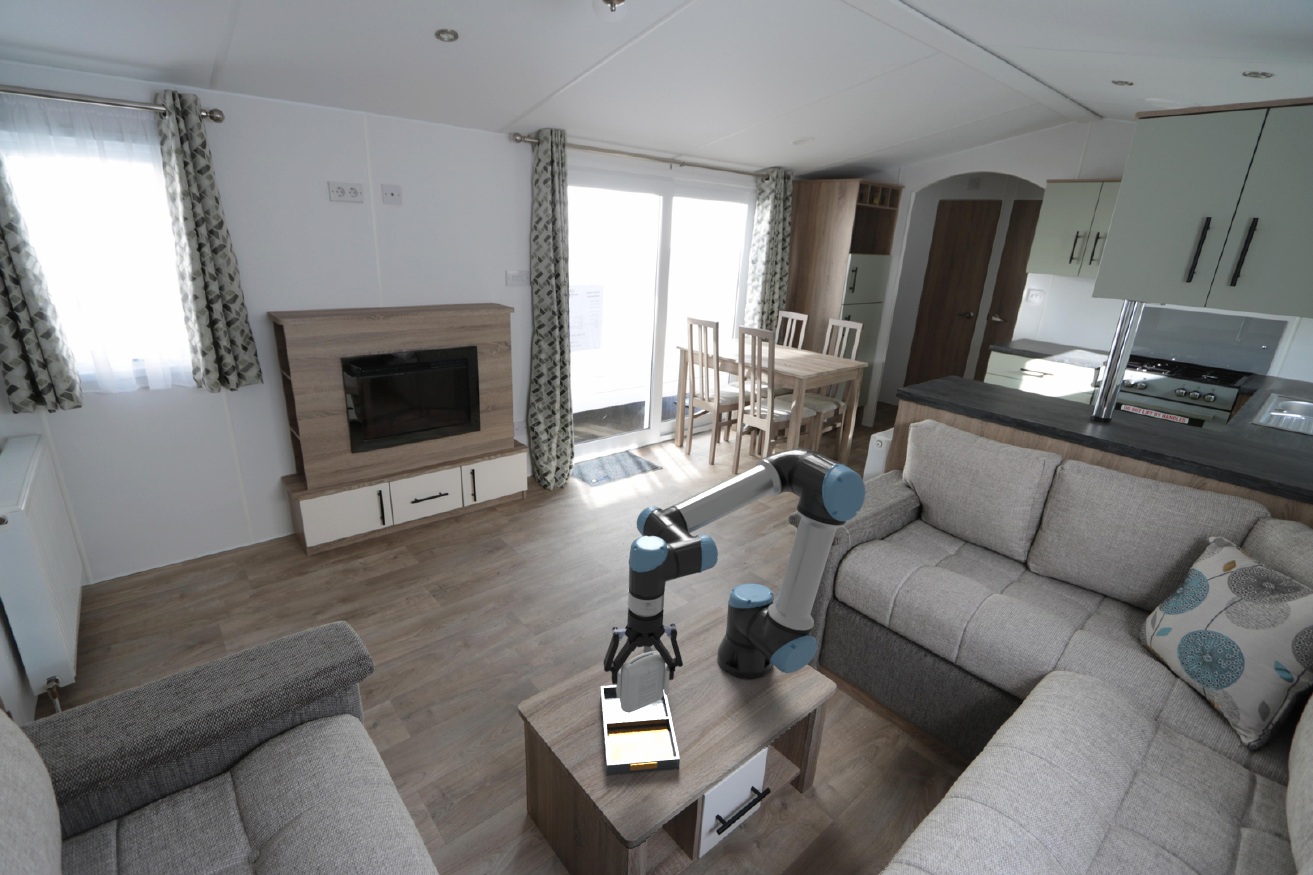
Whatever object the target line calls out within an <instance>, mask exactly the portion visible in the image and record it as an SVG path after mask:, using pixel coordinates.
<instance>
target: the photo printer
mask: <svg viewBox="0 0 1313 875" xmlns="http://www.w3.org/2000/svg"><path fill="white" fill-rule="evenodd" d="M664 673H665V661H664V660H663V658H662V657H661V655H660V653H659V652H658V651H651V652H646V653H644V652H643V653H641V654H639V655H636V656H634V657H632V658H630V659H629V660H626V661H625V663H624V664H623V665H622V667H621V698H620V703H621V709H622V710H623V711H624V712H628V713H630V712H634V711H636V710H638V709H641V708H643V707H645V706H647V705H650V704H652V703H654V702H656V701H658V700H660V699H661V698H662V697H663V688H664Z"/></svg>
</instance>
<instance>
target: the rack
mask: <svg viewBox="0 0 1313 875" xmlns="http://www.w3.org/2000/svg"><path fill="white" fill-rule="evenodd" d="M600 702H601V704H600V705H601V715H602V716H601V717H602V728H603V740H604V741H603V742H604V753H605V754H604V755H605V767H606V776H617V775H626V774H636V773H637V774H638V773H649V772H657V771H658V772H659V771H670V770H671V771H672V770H680V764H681V763H680V762H681V761H680V760H681V758H680V753H679V748H678V743H677V738H676V735H675V734H676V733H675V729H674V725H673V720H672V714H671V710H670V705H669V700H668V696H667V695H665V694H664V689H663V697H662V698H661V699H660V700H658V701H656V702H654V703H652V704H650V705H647V706H645V707H643V708H641V709H638V710H636V711H634V712H630V713H628V712H624V711H623V710H622V709H621V703H620V698H617V692H616V684H611V685H601V686H600Z"/></svg>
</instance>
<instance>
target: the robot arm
mask: <svg viewBox="0 0 1313 875" xmlns="http://www.w3.org/2000/svg"><path fill="white" fill-rule="evenodd" d="M783 493H792V494H794V495H796V496H797V497H798V498H799V500H798V502H797V507H796V512H797V513H798V515H799V516H800V520H799V524H798V526H797V530H796V534H795V537H794V539H793V544H792V547H791V551H790V555H789V558H788V561H787V565H786V568H785V571H784V575H783V578H782V582H781V585H780V587H779V588H780V589H779V592H778V596H777V600H776V602H774V601H775V596H774V591H772V589H770V588H769V587H768V586H765V585H763V584H759V583H752V582H751V583H750V582H749V583H742V584H739V585H737V586H735V587H734V588H732V589H731V590H730V593H729V600H728V601H727V604H728V606H727V617H726V626H725V628H726V629H725V635H724V636H723V639H722V640H721V641H720V644H719V645H718V649H717V657H716V658H717V663H718V665H719V667H720V668H721V669H722V670H723V671H724V672H725V673H726V674H728V675H730V676H732V677H734V678H737V679H741V680H747V681H748V680H751V681H752V680H757V679H762V678H763V677H765V676H766V675H768V673H770V671H771V669H772V666H774V667H775V668H776V669H777V670H779V671H780V672H781V673H784V674H792V673H796V672H798V671H800V670H802V669H803V668H804V667H806V666H807V665H809V663H810V662H811V660H813V658H814V657H815V655H816V653H817V651H818V642H817V639H816V637H814V635H812V632H813V628H814V625H815V622H814V618H813V617H812V615H811V612H812V609H813V606H814V602H815V600H816V596H817V594H818V590H819V587H820V584H821V581H822V577H823V574H824V571H825V568H826V563H827V560H828V558H829V555H830V551H831V548H832V544H833V542H834V539H835V534H836V532H837V529H840V528H841V527H843V526H845V525H846V522H848V521H850V520H852V519H853V518H855V517H856V516H857V514H858V513H857V512H860V511H861V509H862V507H863V505H864V502H865V499H866V498H865V497H866V486H865V482H864V480H863V478H862V476H861V475H860V474H859V473H858V472H856V471H855V470H852V469H851V468H850V467H849V466H847V465H846V464H844V463H841V462H838V461H836V460H834V459H832V458H830V457H828V456H825V455H823V454H821V453H820V452H818V451H815V450H814V449H810V448H793V449H787V450H783V451H779V452H776V453H773V454H770V455H768V456H766V457H763V458H761V459H759V460H758V461H757V462H756V464H755V466H754V467H752V468H749V469H747V470H745V471H743V472H741V473H739V474H737V475H735V476H732V477H731V478H728V479H726V480H724V481H722V482H719V483H717V484H715V485H713V486H711V487H709V488H707V489H705V490H703V491H700V492H698V493H696V494H694V495H692V496H691V497H688V498H686V499H683V500H682V501H679V502H678V503H675V504H672V505H671V506H668V507H667V508H665V509H662V508H660V507H658V506H654V505H653V506H648V507H646V508H644V509H643V510H642V511H641V512H640V513H639V515H638V516H637V518H636V528H637V530H638V533H639V534H640V535H641V536H640V537H637V538H636V539H634V540H633V541H632V543H631V545H630V550H629V556H628V557H629V558H628V567H629V568H628V570H629V571H628V592H627V593H628V597H627V598H628V599H627V606H628V607H627V624H626V626H625V627H624V628H618V627H617V626H613V627H612V630H611V631H612V637H611V640H610V643H609V645H608V648H607V650H606V653H605V656H604V658H603V671H604V672H605V673H606V672H608V673H609V672H610V673H611V684H612V685H616V692H617V698H621V667H622V665H624V664H625V663H626V662H627V661H628V658H629V657H630V656H631V654H632V653H633V652H635V651H636V649H637V648H642V647H643V648H644V646H648V647H652V645H654V647H655V648H656V650H658V652H659V653H660V655H661V657H662V658H663V660H664V661H665V673H664V688H663V689H664V694H665V695H669V686H670V681H673V680H674V679H675V677H674V676H675V672H676V668H677V667H679V668H682V667H683V666H684V663H683V662H684V661H683V658H682V654H681V651H680V648H679V647H680V646H679V645H678V641H677V637H678V630H677V627H676V624H675V623H671V624H670V625H669V626H668V625H667V626H665V625H664V611H665V610H664V607H665V591H666V582H669V581H673V580H676V579H680V578H683V577H686V576H687V577H688V576H690V575H695V574H701V573H702V572H705V571H707V570H710V569H713V568H714V567H715V566H716V565H717V562H718V559H719V558H718V555H719V551H718V548H717V545H716V542H715V540H714V538H712V537H711V536H710V535H708V534H706V533H705V534H697V535H692V534H691V533H693V532H695V531H697V530H699V529H702V528H703V527H705V526H707V525H709V524H711V523H713V522H715V521H718V520H720V519H722V518H725V517H726V516H729V515H731V514H732V513H734V512H736V511H738V510H740V509H742V508H744V507H746V506H748V505H751V504H753V503H754V502H756V501H759V500H761V499H762V498H764V497H767V496H768V495H771V496H773V497H774V496H777V495H780V494H783ZM664 634H666V636H667V637H668V638H669V639H670V642H671V646H672V649H673V654H674V658H673V657H672V656H671V653H670V654H669V652H670V651H669V650H668V649H667V648H666V646H665V645H664V643H663V642H662V641H661V638H662V637H663V636H664ZM624 636H625V637H627V639H626V642H625V643H624V644H623V646H622V647H621V649H620V650H619V652H618V654H617V655H616V653H617V651H618V648H619V644H620V642H622V640H623V637H624ZM667 650H668V651H669V652H668V651H667Z"/></svg>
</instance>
